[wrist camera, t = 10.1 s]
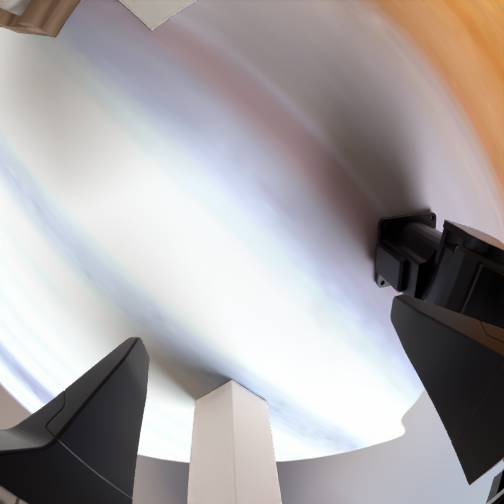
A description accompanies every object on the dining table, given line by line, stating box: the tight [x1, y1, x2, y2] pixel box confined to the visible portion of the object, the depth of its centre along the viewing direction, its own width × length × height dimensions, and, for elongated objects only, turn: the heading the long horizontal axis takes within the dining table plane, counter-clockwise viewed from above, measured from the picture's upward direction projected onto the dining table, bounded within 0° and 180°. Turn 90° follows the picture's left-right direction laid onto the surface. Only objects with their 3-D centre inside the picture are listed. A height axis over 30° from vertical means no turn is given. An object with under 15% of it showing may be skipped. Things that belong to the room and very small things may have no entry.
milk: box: [187, 380, 282, 504], centre depth 18 cm, size 6×6×22 cm
